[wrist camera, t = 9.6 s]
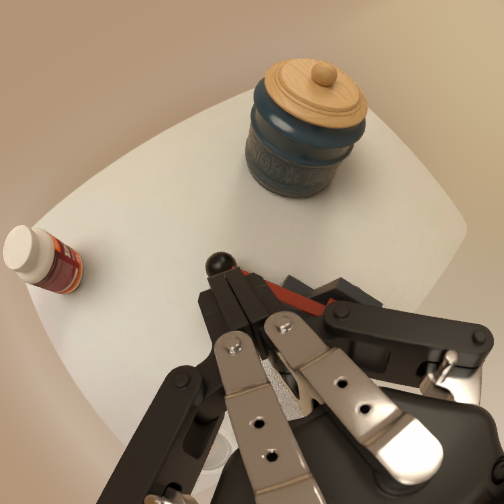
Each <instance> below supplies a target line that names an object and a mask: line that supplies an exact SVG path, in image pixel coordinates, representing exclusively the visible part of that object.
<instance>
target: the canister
mask: <svg viewBox="0 0 504 504" xmlns="http://www.w3.org/2000/svg"><path fill="white" fill-rule="evenodd" d="M366 114H367V102H366V99H365V96H364V94H363V93H362V92H361V90H360V88H359V87H358V86H357V85H356V84H355V83H354V81H353V80H352V79H351V78H350V77H349V76H348V75H347V74H345V73H344V72H343V71H341V70H340V69H338V68H336V67H335V66H334V65H332V64H331V63H329V62H325V61H318V60H313V59H292V60H285V61H282V62H279V63H277V64H275V65H273V66H272V67H271V68H270V69H269V70H268V71H267V73H266V75H265V77H264V78H263V79H262V80H260V82H259V83H258V84H257V86H256V88H255V90H254V105H253V107H252V110H251V116H250V117H251V124H250V130H249V135H248V137H247V141H246V147H245V156H246V160H247V165H248V168H249V170H250V172H251V174H252V175H253V177H254V178H255V179H256V180H257V181H258V182H259V183H260V184H261V185H262V186H263V187H265V188H266V189H268V190H269V191H271V192H273V193H276V194H278V195H281V196H285V197H291V198H301V197H307V196H310V195H313V194H315V193H317V192H319V191H320V190H322V189H323V188H324V187H326V186H327V185H328V184H329V182H330V181H331V180H332V178H333V177H334V175H335V173H336V170H337V169H338V167H339V166H340V165H341V163H342V162H343V160H344V159H346V158H347V157H348V156H349V154H350V153H351V151H352V149H353V146H354V143H356V142H357V141H358V140H359V139H360V138H361V137H362V135H363V133H364V131H365V126H366V120H365V116H366Z"/></svg>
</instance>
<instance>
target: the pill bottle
mask: <svg viewBox="0 0 504 504" xmlns="http://www.w3.org/2000/svg"><path fill="white" fill-rule="evenodd" d="M3 257H4V261H5V264H6V265H7V267H8V268H10V269H11V270H13V271H15V272H16V273H17V275H18V276H19V278H20V279H21V280H23V281H24V282H26V283H29V284H31V285H34V286H37V287H40V288H43V289H46V290H49V291H52V292H55V293H59V294H67V293H70V292H72V291H73V290H74V289H76V287H77V286H78V285H79V283H80V281H81V278H82V275H83V263H82V260H81V257H80V256H79V254H78V253H77V252H76V251H75V250H73V249H72V248H70V247H69V246H67V245H65V244H64V243H62V242H61V241H59V240H58V239H57V238H55V237H54V236H52V235H51V234H49V233H48V232H46V231H45V230H43V229H40V228H34V229H30V228H28V227H27V226H24V225H19V226H17V227H15V228H14V229H13V230H12V231H11V232H10V233H9V235H8V236H7V239H6V241H5V244H4V249H3Z"/></svg>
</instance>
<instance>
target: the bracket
mask: <svg viewBox="0 0 504 504" xmlns="http://www.w3.org/2000/svg"><path fill="white" fill-rule="evenodd" d="M281 287H283V288H285V289H287V290H290V291H292V292H294V293H297V294H299V295H302V296H304V297H306V298H309V299H311V300H313V301H316V302H318V303H321V304H323V305H325V306H326V305H327V303H328V301H329V299H330V298H332V299H334V300H337V301H340V300H344V301H350V302H355V303H360V304H365V305H370V306H376V307H381V308H382V305H383V304H382V303H381V302H379V301H378V300H376V299H375V298H373V297H371V296H370V295H368V294H367V293H365V292H364V291H362V290H361V289H360V288H359V287H357V286H354V285H352V284H351V283H349V282H348V281H346V280H345V279H343V278H341V277H340V278H338V279H336V280H334V281H332V282H330V283H328V284H326V285H323V286H321V287H319V288H317V289H315V290H313V289H312V288H310V287H309V286H307V285H305V284H304V283H302V282H300V281H299V280H297V279H295V278H294V277H292V276H290V275H289V276H287V277H286V279H285V281H284V283H283V285H282V286H281ZM282 305H283V306H284V307H285V309H286V310H287V311H290V312H294V313H296V314H298V315H299V316H300V317H301V318H309V317H313V316H310V315H308V314H306V313H304V312H301V311H299V310H297V309H295V308H292V307H290V306H288V305H286V304H284V303H282Z"/></svg>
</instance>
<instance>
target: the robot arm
mask: <svg viewBox="0 0 504 504" xmlns="http://www.w3.org/2000/svg"><path fill="white" fill-rule="evenodd" d="M223 274H224V275H223ZM207 280H208V282H209V285H210V288H211V289H209V290H206V291H203V292H201V293H200V295H199V299H198V303H199V306H200V309H201V312H202V315H203V318H204V321H205V324H206V327H207V330H208V333H209V335H210V338H211V341H212V350H211V352H210V354H209V356H208V357H207V358H206V359H205V360H204V361H203V362H202V363H200V364H199V365H197V366H196V367H193V366H189V365H184V366H179V367H177V368H175V369H173V370H172V371H171V372H170V373H169V374H168V375H167V376H166V378H165V380H164V382H163V383H162V385H161V387H160V389H159V390H158V392H157V394H156V396H155V398H154V399H153V401H152V403H151V405H150V406H149V408H148V410H147V412H146V414H145V415H144V417H143V419H142V421H141V422H140V424H139V426H138V428H137V430H136V431H135V433H134V435H133V437H132V439H131V440H130V442H129V444H128V446H127V448H126V450H125V452H124V453H123V455H122V457H121V459H120V460H119V462H118V464H117V466H116V468H115V470H114V472H113V473H112V475H111V477H110V479H109V481H108V483H107V484H106V486H105V488H104V490H103V492H102V494H101V496H100V498H99V500H98V501H97V503H96V504H198V503H197V501H196V500H195V499H194V498H193V497H192V496H191V495H190V494H191V492H192V490H193V488H194V486H195V483H196V481H197V479H198V477H199V475H200V472H201V470H202V468H203V466H204V463H205V461H206V459H207V456H208V454H209V452H210V450H211V447H212V445H213V443H214V440H215V438H216V436H217V433H218V431H219V428H220V426H221V424H222V421H223V419H224V415H225V411H227V410H228V414H229V417H230V421H231V424H232V427H233V431H234V434H235V437H236V440H237V443H238V447H239V448H238V449H237V450H236V451H235V452H234V453H233V454H232V455H231V456H230V458H229V459H228V460H227V462H226V464H225V466H224V468H223V471H222V473H221V476H220V479H219V482H218V484H217V487H216V490H215V492H214V495H213V498H212V500H211V503H210V504H504V452H503V449H502V447H501V444H500V441H499V438H498V432H497V428H496V424H495V421H494V419H493V417H492V416H491V414H490V413H489V412H488V411H487V410H486V409H484V408H482V407H480V397H481V384H482V365H483V363H484V361H485V359H486V357H487V355H488V354H489V352H490V351H491V349H492V347H493V345H494V338H493V335H492V333H491V332H490V330H489V329H488V328H486V327H485V326H483V325H480V324H474V323H467V322H461V321H455V320H448V319H443V318H437V317H431V316H425V315H419V314H414V313H408V312H403V311H397V310H392V309H386V308H381V307H376V306H370V305H365V304H360V303H355V302H350V301H344V300H340V301H335V302H332V303H330V304H329V305H327V306H326V307H325V309H324V311H323V315H321V316H315V317H309V318H301V317H300V316H299V315H298V314H296V313H294V312H290V311H287V310H286V309H285V307H284V306H283V305H282V303H281V302H280V301H279V299H278V298H277V297H276V295H275V294H274V293H273V291H272V290H271V288H270V287H269V286H268V285H267V283H266V282H265V280H264V279H263V278H262V277H261V276H259V275H257V274H255V273H251V274H248V275H246V276H245V275H244V274H243V272H242V271H241V269H240V268H239V267H235V268H233V269H230V270H227V271H225V272H223V273H219V274H217V275H214V276H211V277H209V278H207ZM258 353H259V354H258ZM259 355H260V357H261V359H262V361H263V360H265V359H267V358H268V359H269V361H270V363H271V364H272V366H273V368H274V369H275V372H276V374H277V375H278V377H279V378H280V379H281V381H282V382H283V384H284V385H285V387H286V388H287V389H288V391H289V392H290V394H291V395H292V396H293V398H294V399H295V401H296V402H297V403H298V405H299V407H300V409H301V411H302V413H303V415H304V418H300V419H295V420H291V421H287V419H286V417H285V415H284V412H283V410H282V408H281V405H280V403H279V401H278V399H277V396H276V394H275V392H274V389H273V387H272V385H271V383H270V381H269V380H268V378H267V375H266V373H265V371H264V368H263V366H262V363H261V360H260V357H259ZM370 378H372V379H376V380H381V381H386V382H390V383H395V384H400V385H405V386H411V387H416V388H420V391H421V392H422V394H423V395H418V394H413V393H409V392H405V391H400V390H396V389H392V388H387V387H380V386H379V387H378V386H377V385H376V384H374V382H373V381H372V380H371V379H370Z"/></svg>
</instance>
